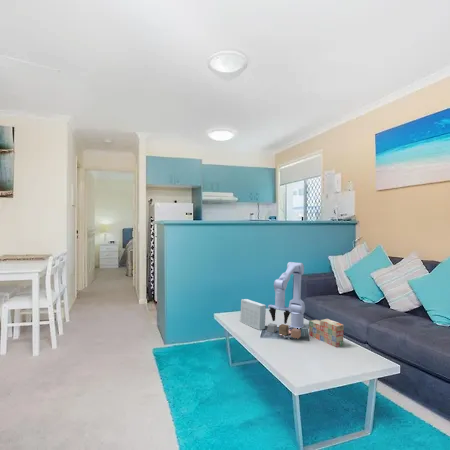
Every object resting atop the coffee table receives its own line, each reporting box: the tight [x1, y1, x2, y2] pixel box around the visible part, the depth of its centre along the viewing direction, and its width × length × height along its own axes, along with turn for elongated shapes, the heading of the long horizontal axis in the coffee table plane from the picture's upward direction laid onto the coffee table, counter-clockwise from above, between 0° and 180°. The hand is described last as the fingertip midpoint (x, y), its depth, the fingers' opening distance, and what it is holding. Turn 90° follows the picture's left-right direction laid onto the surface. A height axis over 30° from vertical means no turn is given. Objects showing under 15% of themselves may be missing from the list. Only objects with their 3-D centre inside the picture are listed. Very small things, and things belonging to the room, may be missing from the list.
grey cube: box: [266, 323, 278, 334], centre depth 203 cm, size 4×4×4 cm
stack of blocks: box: [308, 318, 345, 348], centre depth 190 cm, size 21×6×12 cm, turn 29°
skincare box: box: [239, 298, 267, 331], centre depth 215 cm, size 21×5×16 cm, turn 34°
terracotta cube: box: [290, 327, 302, 340], centre depth 194 cm, size 4×4×4 cm
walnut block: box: [278, 323, 290, 336], centre depth 199 cm, size 4×4×6 cm
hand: (279, 322), depth 191 cm, fingers open, 7 cm apart
